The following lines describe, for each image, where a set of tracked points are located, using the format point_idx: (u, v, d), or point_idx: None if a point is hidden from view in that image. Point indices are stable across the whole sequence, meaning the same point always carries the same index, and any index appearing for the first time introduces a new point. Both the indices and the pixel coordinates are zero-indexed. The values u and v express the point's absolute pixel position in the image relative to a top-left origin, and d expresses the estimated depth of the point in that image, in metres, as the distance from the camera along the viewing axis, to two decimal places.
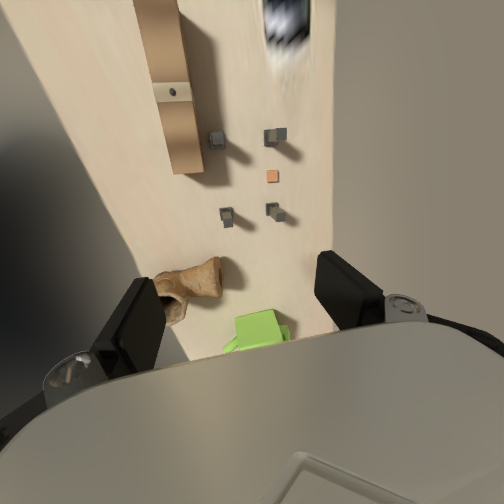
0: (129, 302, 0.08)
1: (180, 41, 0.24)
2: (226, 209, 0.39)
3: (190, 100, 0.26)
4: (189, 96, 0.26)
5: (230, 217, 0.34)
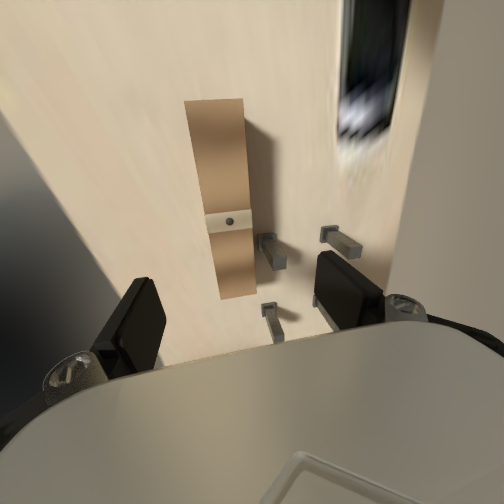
0: (129, 302, 0.08)
1: (245, 168, 0.18)
2: (269, 306, 0.33)
3: (250, 227, 0.21)
4: (249, 223, 0.20)
5: (281, 331, 0.29)
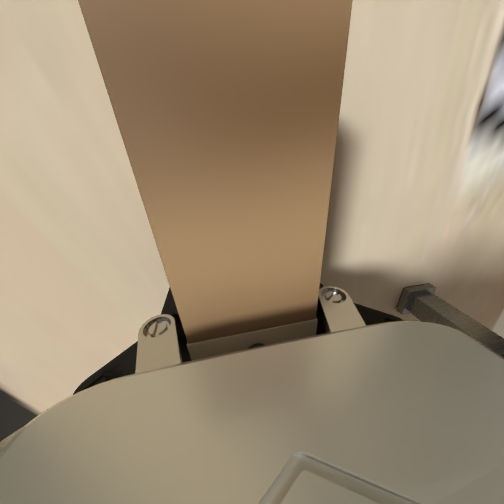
0: None
1: (321, 218, 0.05)
2: None
3: None
4: None
5: None
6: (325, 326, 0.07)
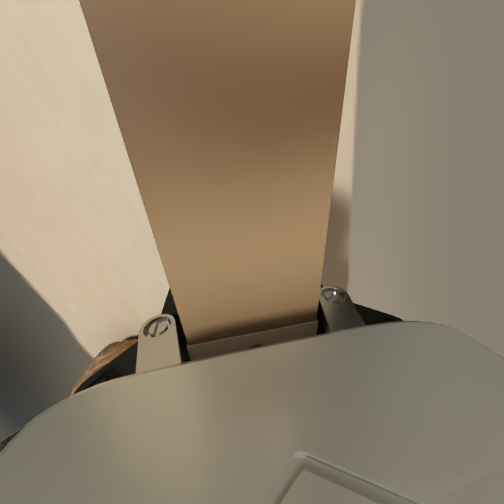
0: None
1: (322, 220, 0.05)
2: None
3: None
4: None
5: None
6: (325, 326, 0.07)
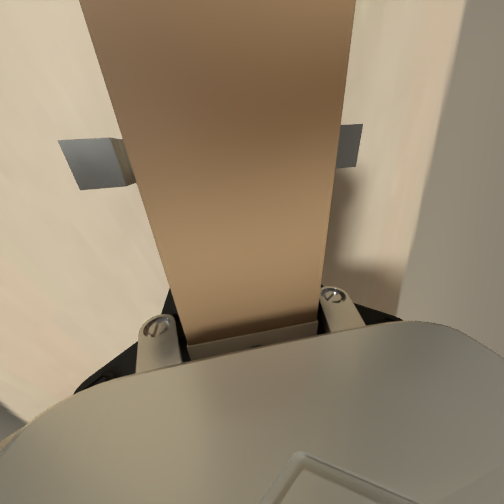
0: None
1: (322, 220, 0.05)
2: None
3: None
4: None
5: None
6: (325, 326, 0.07)
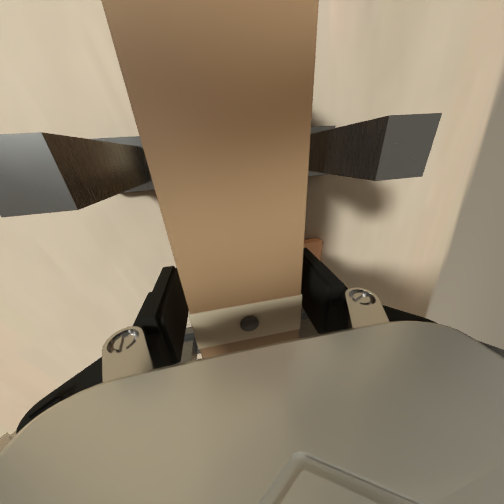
0: (163, 286, 0.09)
1: (300, 204, 0.06)
2: (184, 337, 0.15)
3: (295, 328, 0.09)
4: (294, 322, 0.09)
5: None
6: (349, 326, 0.07)
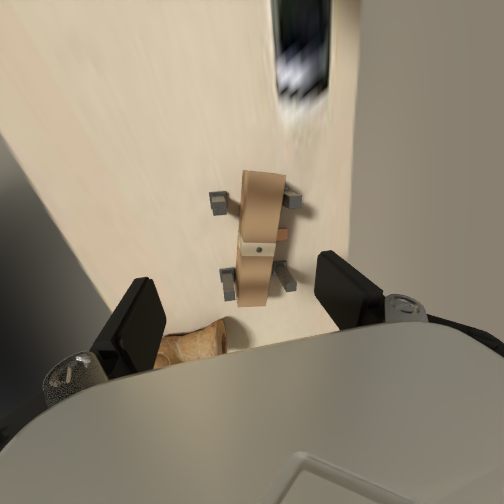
0: (129, 302, 0.08)
1: (278, 216, 0.26)
2: (227, 271, 0.34)
3: (272, 255, 0.28)
4: (272, 253, 0.28)
5: (232, 289, 0.29)
6: None
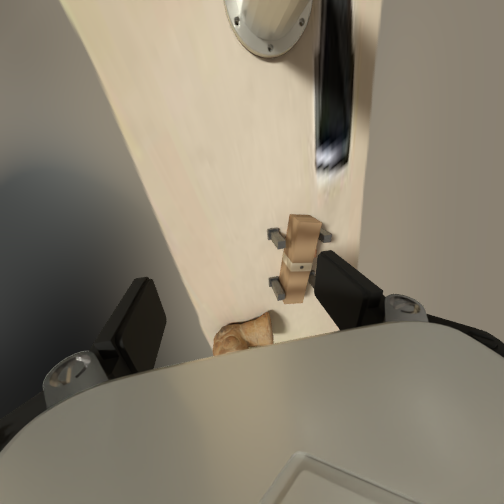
0: (129, 302, 0.08)
1: (315, 246, 0.40)
2: (274, 279, 0.48)
3: (309, 270, 0.43)
4: (309, 269, 0.42)
5: (282, 292, 0.44)
6: None
